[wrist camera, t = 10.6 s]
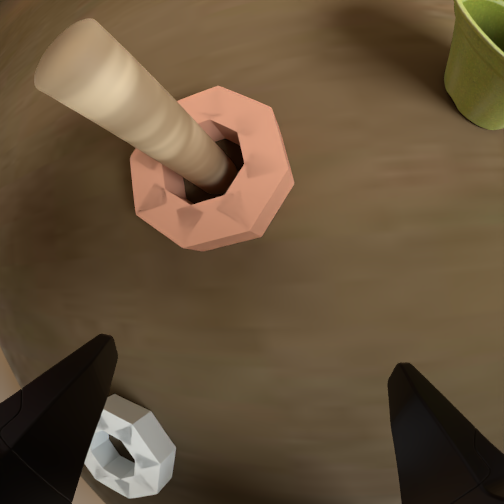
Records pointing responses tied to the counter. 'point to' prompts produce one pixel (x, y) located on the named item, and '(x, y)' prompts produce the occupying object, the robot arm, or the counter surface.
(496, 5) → the plant pot
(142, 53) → the counter surface
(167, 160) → the dowel
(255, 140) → the bead ring
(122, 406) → the bead
